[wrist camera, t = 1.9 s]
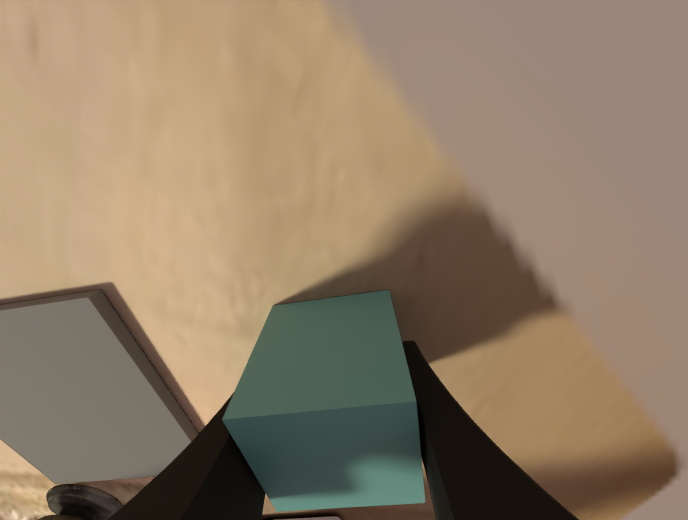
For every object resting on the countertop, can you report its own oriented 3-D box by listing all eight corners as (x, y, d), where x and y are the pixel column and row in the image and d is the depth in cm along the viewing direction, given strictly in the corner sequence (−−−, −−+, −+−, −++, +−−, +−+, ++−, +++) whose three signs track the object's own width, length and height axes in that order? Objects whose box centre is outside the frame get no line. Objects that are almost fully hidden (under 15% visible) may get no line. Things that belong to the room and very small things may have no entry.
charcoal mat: (217, 461, 17) (212, 472, 16) (64, 473, 18) (55, 484, 17) (100, 289, 11) (88, 297, 11) (-113, 321, 12) (-134, 330, 12)
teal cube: (399, 374, 13) (425, 502, 8) (301, 385, 13) (276, 511, 9) (389, 289, 11) (416, 401, 6) (273, 305, 11) (222, 419, 7)
